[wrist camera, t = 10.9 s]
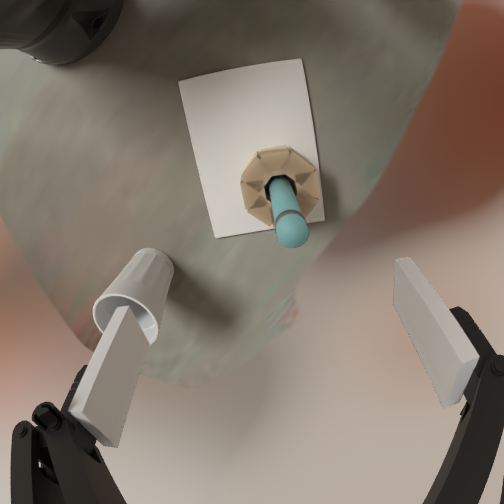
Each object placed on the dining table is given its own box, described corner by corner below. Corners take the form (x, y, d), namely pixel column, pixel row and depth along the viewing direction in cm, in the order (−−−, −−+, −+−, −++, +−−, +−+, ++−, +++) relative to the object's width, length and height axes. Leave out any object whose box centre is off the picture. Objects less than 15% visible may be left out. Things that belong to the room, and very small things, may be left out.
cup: (171, 238, 41) (144, 291, 30) (185, 288, 45) (167, 348, 34) (119, 246, 41) (82, 296, 31) (136, 293, 45) (108, 348, 34)
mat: (178, 81, 31) (177, 81, 31) (300, 58, 30) (301, 58, 30) (215, 237, 41) (215, 238, 40) (324, 219, 39) (324, 220, 39)
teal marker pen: (265, 172, 36) (273, 221, 23) (286, 169, 36) (307, 215, 23) (269, 192, 37) (278, 251, 24) (289, 189, 37) (311, 245, 24)
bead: (237, 153, 35) (235, 159, 32) (307, 141, 34) (313, 147, 31) (250, 218, 39) (250, 231, 35) (316, 207, 38) (322, 219, 35)
